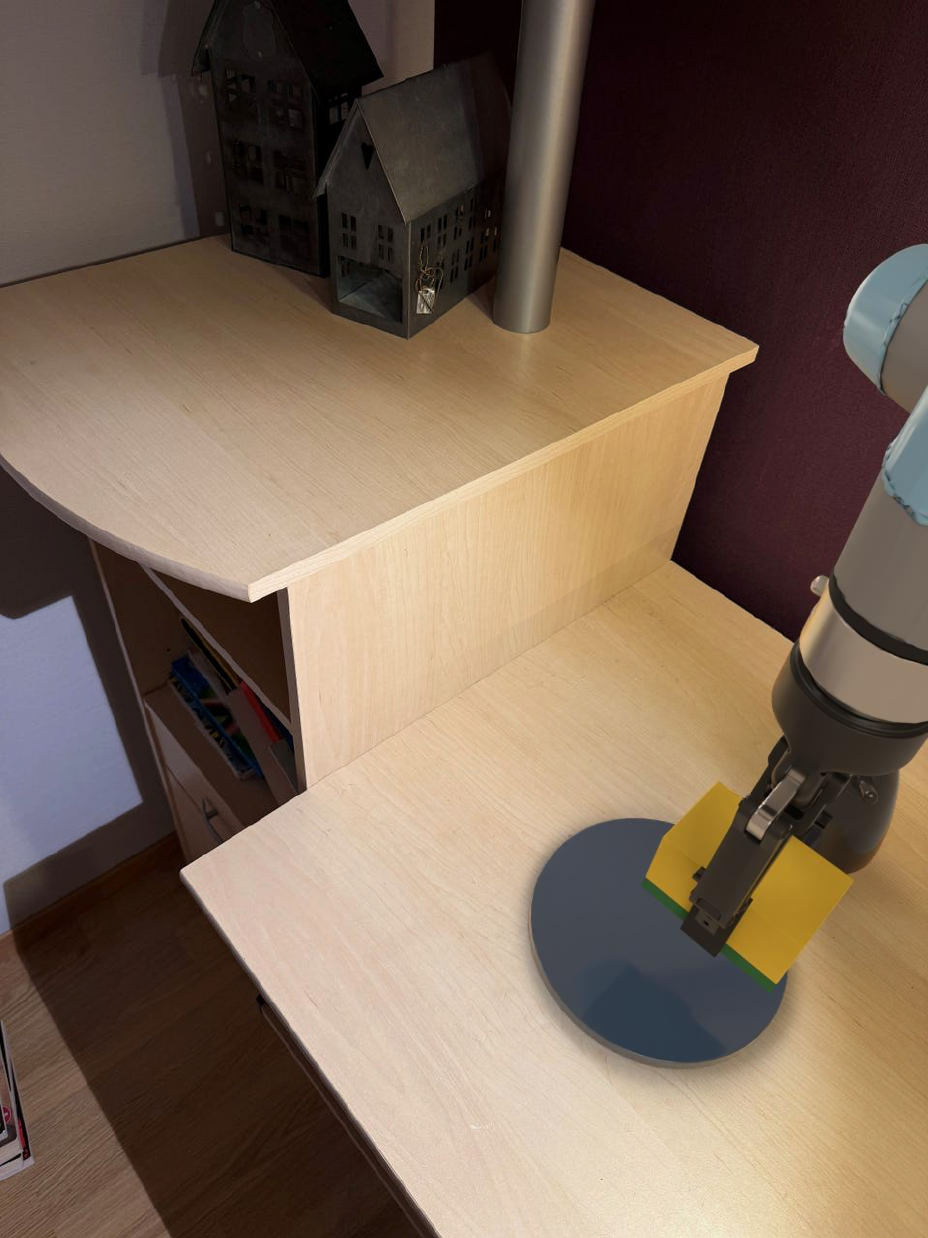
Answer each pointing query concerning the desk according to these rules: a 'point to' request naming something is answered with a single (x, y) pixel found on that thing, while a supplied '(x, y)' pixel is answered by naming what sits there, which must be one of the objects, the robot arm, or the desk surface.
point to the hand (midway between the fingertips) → (730, 904)
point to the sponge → (780, 903)
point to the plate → (637, 956)
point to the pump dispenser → (857, 822)
